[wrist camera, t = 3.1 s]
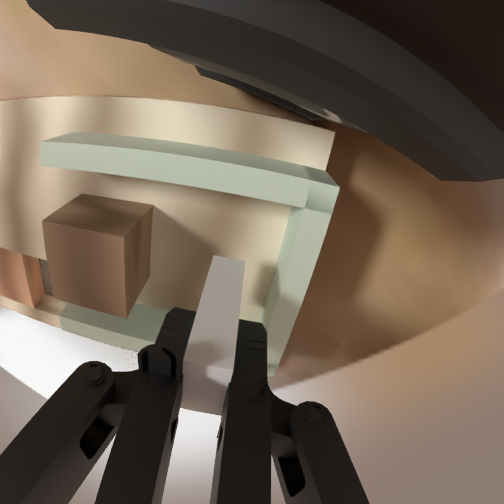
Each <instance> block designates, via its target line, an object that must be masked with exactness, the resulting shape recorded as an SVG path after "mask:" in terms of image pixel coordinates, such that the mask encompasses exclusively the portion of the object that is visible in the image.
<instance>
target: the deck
mask: <svg viewBox="0 0 504 504" xmlns="http://www.w3.org/2000/svg"><path fill="white" fill-rule="evenodd" d="M71 132H84V133H99V134H112V135H123V136H133V137H143V138H151V139H160V140H168V141H175V142H182V143H189V144H196V145H202V146H209V147H215V148H221V149H226V150H232V151H238V152H243V153H248V154H253V155H258V156H263V157H268V158H273V159H277V160H282V161H287V162H291V163H295V164H300V165H304V166H308V167H312V168H316V169H320V170H324V171H326V167H327V163H328V159H329V156H330V152H331V148H332V144H333V140H334V136H335V133H336V132H334V131H331V130H329V129H326V128H323V127H319V126H315V125H311V124H307V123H303V122H299V121H295V120H291V119H287V118H282V117H278V116H273V115H268V114H263V113H258V112H253V111H248V110H242V109H237V108H231V107H224V106H218V105H211V104H204V103H197V102H189V101H180V100H171V99H160V98H148V97H132V96H109V95H63V96H41V97H26V98H15V99H6V100H0V305H1V306H3V307H6V308H8V309H10V310H13V311H15V312H18V313H20V314H23V315H25V316H28V317H30V318H33V319H36V320H38V321H41V322H44V323H47V324H49V325H52V326H55V327H58V328H61V324H60V320H59V316H58V315H59V314H60V313H61V311H62V310H63V309H64V307H65V306H66V305H67V303H68V302H65V301H61V300H58V299H55V298H53V296H50V295H47V294H46V293H45V289H44V284H43V279H42V273H41V268H40V262H39V259H43V260H46V261H47V259H46V252H45V244H44V236H43V227H42V220H44V219H45V218H46V217H48V216H49V215H51V214H52V213H53V212H55V211H56V210H58V209H59V208H61V207H62V206H64V205H65V204H67V203H68V202H70V201H71V200H73V199H74V198H76V197H77V196H79V195H80V194H89V195H96V196H102V197H108V198H114V199H121V200H127V201H133V202H139V203H145V204H151V205H153V216H152V232H151V253H150V277H149V278H148V280H147V282H146V284H145V286H144V287H143V289H142V291H141V293H140V295H139V297H138V298H137V300H136V302H135V303H139V304H143V305H148V306H152V307H156V308H161V309H166V310H172V309H173V308H174V307H177V308H182V309H187V310H191V311H196V312H197V309H198V306H199V302H200V299H201V296H202V292H203V289H204V285H205V282H206V279H207V275H208V272H209V269H210V265H211V262H212V259H213V255H216V256H221V257H226V258H231V259H236V260H242V261H245V269H244V278H243V287H242V296H241V305H240V314H239V319H242V320H248V321H254V322H260V320H261V316H262V313H263V309H264V306H265V302H266V299H267V295H268V292H269V288H270V285H271V281H272V277H273V274H274V270H275V266H276V263H277V259H278V255H279V252H280V248H281V244H282V241H283V237H284V233H285V229H286V226H287V222H288V218H289V214H290V210H291V207H292V206H291V205H287V204H282V203H277V202H272V201H267V200H262V199H257V198H252V197H247V196H242V195H237V194H232V193H226V192H221V191H215V190H210V189H204V188H198V187H192V186H187V185H181V184H174V183H168V182H162V181H155V180H149V179H142V178H135V177H128V176H121V175H114V174H106V173H98V172H90V171H82V170H73V169H64V168H54V167H44V166H40V144H41V141H44V140H47V139H50V138H54V137H57V136H60V135H64V134H67V133H71ZM61 329H62V328H61Z"/></svg>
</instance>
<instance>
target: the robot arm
mask: <svg viewBox="0 0 504 504" xmlns="http://www.w3.org/2000/svg"><path fill="white" fill-rule="evenodd" d="M244 269H245V261H242V260H236V259H231V258H226V257H221V256H216V255H213V259H212V262H211V265H210V269H209V272H208V275H207V279H206V282H205V285H204V289H203V292H202V296H201V299H200V302H199V306H198V309H197V312H196V311H191V310H187V309H182V308H177V307H174V308H173V309H172V310H170V311H169V312H168V313H167V314H166V316H165V319H164V321H163V324H162V326H161V329H160V332H159V334H158V336H157V339H156V341H155V344H151V345H147V346H146V347H144V348H142V349H141V350H140V352H139V353H138V365H139V369H137V370H134V371H128V372H112V370H111V368H110V367H109V366H107V365H106V364H105V363H102V362H99V361H89V362H86V363H83V364H82V365H80V366H79V367H78V368H77V369H76V370H75V371H74V372H73V373H72V374H71V375H70V376H69V378H68V379H67V380H66V381H65V382H64V383H63V384H62V385H61V386H60V387H59V388H58V390H57V391H56V392H55V393H54V394H53V395H52V396H51V397H50V398H49V399H48V401H47V402H46V403H45V404H44V405H43V406H42V407H41V408H40V410H39V411H38V412H37V413H36V414H35V415H34V416H33V417H32V419H31V420H30V421H29V422H28V423H27V424H26V426H25V427H24V428H23V429H22V430H21V431H20V433H19V434H18V435H17V436H16V437H15V438H14V440H13V441H12V442H11V443H10V444H9V446H8V447H7V448H6V449H5V450H4V451H3V453H2V454H1V455H0V504H68V503H69V501H70V500H71V499H72V497H73V496H74V494H75V493H76V491H77V490H78V488H79V487H80V486H81V484H82V483H83V481H84V480H85V478H86V477H87V475H88V474H89V472H90V471H91V469H92V468H93V466H94V465H95V464H96V462H97V461H98V459H99V458H100V456H101V455H102V454H103V452H104V451H105V449H106V448H107V446H108V445H109V443H110V442H111V441H112V439H113V438H114V436H115V435H116V437H115V440H114V443H113V446H112V449H111V452H110V455H109V458H108V461H107V464H106V468H105V471H104V474H103V477H102V480H101V484H100V488H99V491H98V494H97V497H96V501H95V504H161V501H162V496H163V492H164V486H165V481H166V476H167V472H168V467H169V462H170V456H171V452H172V448H173V443H174V438H175V434H176V429H177V424H178V414H179V410H180V408H184V409H189V410H194V411H199V412H204V413H210V414H216V415H221V416H222V417H221V424H220V427H219V431H218V435H217V438H218V442H217V451H216V458H215V466H214V474H213V482H212V490H211V491H212V492H211V499H210V504H271V454H272V457H273V460H274V464H275V468H276V471H277V475H278V478H279V482H280V485H281V488H282V492H283V495H284V499H285V502H286V504H369V501H368V499H367V497H366V494H365V492H364V489H363V487H362V485H361V482H360V480H359V478H358V475H357V473H356V471H355V468H354V466H353V463H352V461H351V459H350V456H349V454H348V452H347V449H346V447H345V445H344V442H343V440H342V438H341V436H340V433H339V431H338V428H337V426H336V424H335V421H334V419H333V417H332V414H331V413H330V412H329V410H328V409H327V408H326V407H325V406H323V405H322V404H319V403H317V402H310V401H306V402H303V403H300V404H299V405H298V406H296V405H293V404H291V403H288V402H285V401H283V400H281V399H279V398H278V397H276V396H275V395H274V394H273V393H272V391H271V390H270V388H269V386H268V381H267V331H266V329H265V327H264V325H263V324H262V323H260V322H254V321H248V320H242V319H239V314H240V305H241V296H242V287H243V278H244ZM116 433H117V434H116Z"/></svg>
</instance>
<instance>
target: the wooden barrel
mask: <svg viewBox="0 0 504 504" xmlns="http://www.w3.org/2000/svg"><path fill="white" fill-rule="evenodd" d="M26 1H27V3H28V5H29V7H31V8H32V9H33V10H34V11H35V12H36V13H38V14H39V15H40V16H41V17H42V18H44V19H45V20H46V21H47V22H48V23H49V24H50V25H52V26H53V27H54V28H55V29H63V30H72V31H80V32H88V33H94V34H101V35H107V36H113V37H118V38H123V39H128V40H133V41H137V42H142V43H146V44H148V45H150V46H151V47H152V48H155V49H157V50H159V51H161V52H164V53H166V54H168V55H170V56H173V57H175V58H177V59H179V60H181V61H183V62H186V63H189V64H192V65H194V66H195V67H196V69H197V70H198V72H199V73H200V75H202V76H205V77H208V78H211V79H214V80H217V81H220V82H222V83H225V84H228V85H231V86H233V87H236V88H239V89H241V90H244V91H246V92H249V93H251V94H254V95H256V96H259V97H261V98H264V99H266V100H268V101H271V102H273V103H275V104H278V105H280V106H282V107H284V108H287V109H289V110H291V111H293V112H296V113H298V114H300V115H302V116H304V117H306V118H308V119H310V120H312V121H316V120H323V119H327V120H329V121H331V122H333V123H336V124H339V125H343V126H346V127H349V128H352V129H355V130H357V131H360V132H368V133H370V134H371V135H373V136H375V137H376V138H378V139H380V140H381V141H383V142H385V143H386V144H388V145H389V146H391V147H393V148H394V149H396V150H397V151H399V152H400V153H402V154H403V155H405V156H407V157H408V158H410V159H411V160H413V161H414V162H416V163H417V164H418V165H420V166H421V167H423V168H424V169H426V170H427V171H428V172H430V173H431V174H433V175H434V176H435V177H437V178H438V179H440V180H446V181H473V182H480V181H487V180H495V179H503V178H504V0H26Z"/></svg>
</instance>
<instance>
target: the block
mask: <svg viewBox="0 0 504 504" xmlns="http://www.w3.org/2000/svg"><path fill="white" fill-rule="evenodd" d="M152 216H153V205H151V204H145V203H139V202H133V201H127V200H121V199H114V198H108V197H102V196H96V195H89V194H80V195H79V196H77V197H76V198H74V199H73V200H71V201H70V202H68V203H67V204H65V205H64V206H62V207H61V208H59V209H58V210H56V211H55V212H53V213H52V214H51V215H49V216H48V217H46V218H45V219H44V220H42V227H43V236H44V244H45V252H46V259H47V265H48V271H49V277H50V283H51V288H52V293H53V298H55V299H58V300H61V301H65V302H68V303H71V304H75V305H78V306H81V307H85V308H88V309H92V310H96V311H99V312H103V313H107V314H110V315H114V316H118V317H122V318H126V319H127V317H128V315H129V314H130V312H131V310H132V308H133V306H134V304H135V302H136V300H137V298H138V297H139V295H140V293H141V291H142V289H143V287H144V286H145V284H146V282H147V280H148V278H149V277H150V253H151V232H152Z"/></svg>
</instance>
